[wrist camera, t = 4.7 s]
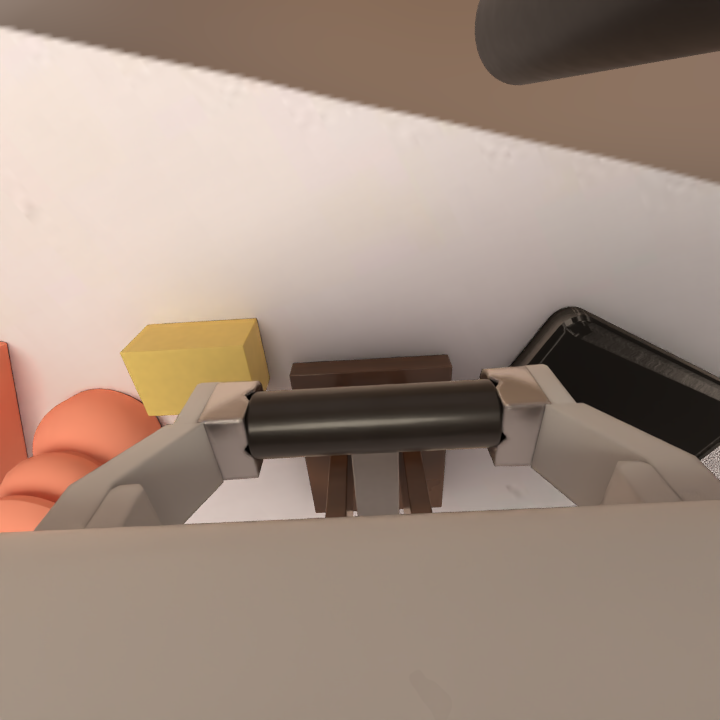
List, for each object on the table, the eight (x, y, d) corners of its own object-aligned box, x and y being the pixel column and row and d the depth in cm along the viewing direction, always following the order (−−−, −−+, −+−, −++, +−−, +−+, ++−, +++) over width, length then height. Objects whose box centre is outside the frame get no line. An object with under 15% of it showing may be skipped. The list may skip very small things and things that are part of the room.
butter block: (147, 324, 21) (119, 352, 19) (256, 317, 21) (242, 345, 19) (171, 383, 23) (148, 416, 21) (270, 378, 23) (259, 410, 21)
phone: (574, 308, 20) (770, 407, 23) (564, 299, 21) (754, 395, 24) (483, 417, 23) (664, 488, 27) (478, 405, 24) (653, 475, 28)
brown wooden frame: (292, 362, 23) (225, 625, 11) (447, 354, 22) (547, 613, 11) (317, 498, 29) (291, 755, 17) (438, 492, 29) (494, 749, 17)
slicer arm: (259, 368, 10) (234, 437, 8) (482, 356, 10) (515, 423, 8) (323, 629, 17) (319, 697, 15) (446, 624, 17) (458, 692, 15)
